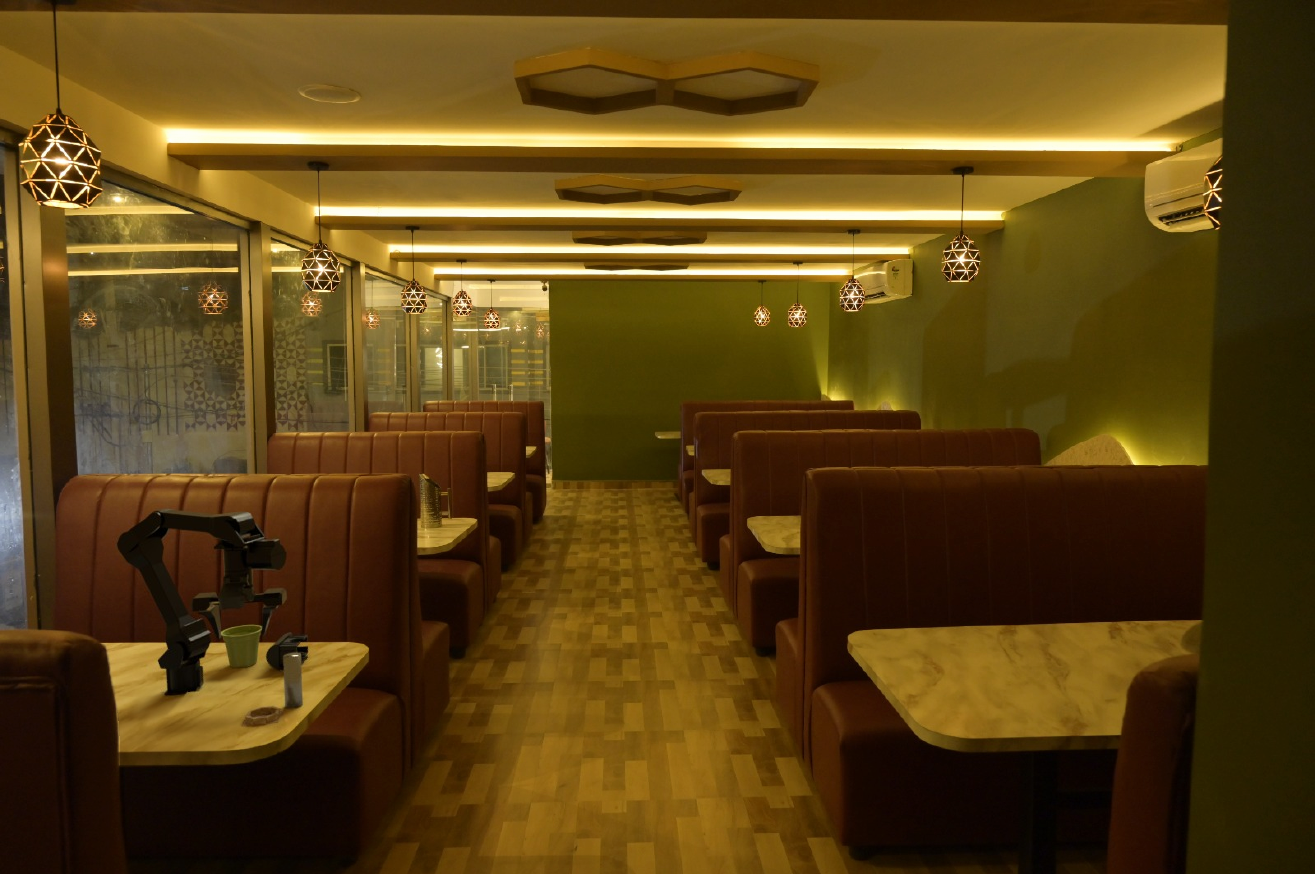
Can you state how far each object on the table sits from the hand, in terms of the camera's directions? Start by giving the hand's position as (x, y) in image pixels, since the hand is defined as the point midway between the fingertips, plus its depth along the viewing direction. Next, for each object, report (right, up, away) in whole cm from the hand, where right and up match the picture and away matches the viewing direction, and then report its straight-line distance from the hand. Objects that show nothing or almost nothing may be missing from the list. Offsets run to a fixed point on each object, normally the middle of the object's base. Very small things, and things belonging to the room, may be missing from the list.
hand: (241, 636), depth 186 cm
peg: (+16, -14, -9) cm, 23 cm away
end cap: (+2, -12, +20) cm, 23 cm away
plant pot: (-10, -12, +20) cm, 25 cm away
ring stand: (+12, -14, -16) cm, 24 cm away
